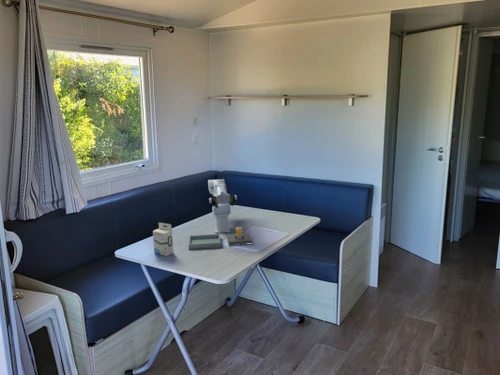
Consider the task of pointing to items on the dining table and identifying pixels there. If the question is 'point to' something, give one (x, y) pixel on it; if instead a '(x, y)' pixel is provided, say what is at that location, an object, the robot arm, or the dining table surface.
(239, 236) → the block
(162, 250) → the ink box
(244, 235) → the fuse holder
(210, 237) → the parts tray
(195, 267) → the dining table surface
